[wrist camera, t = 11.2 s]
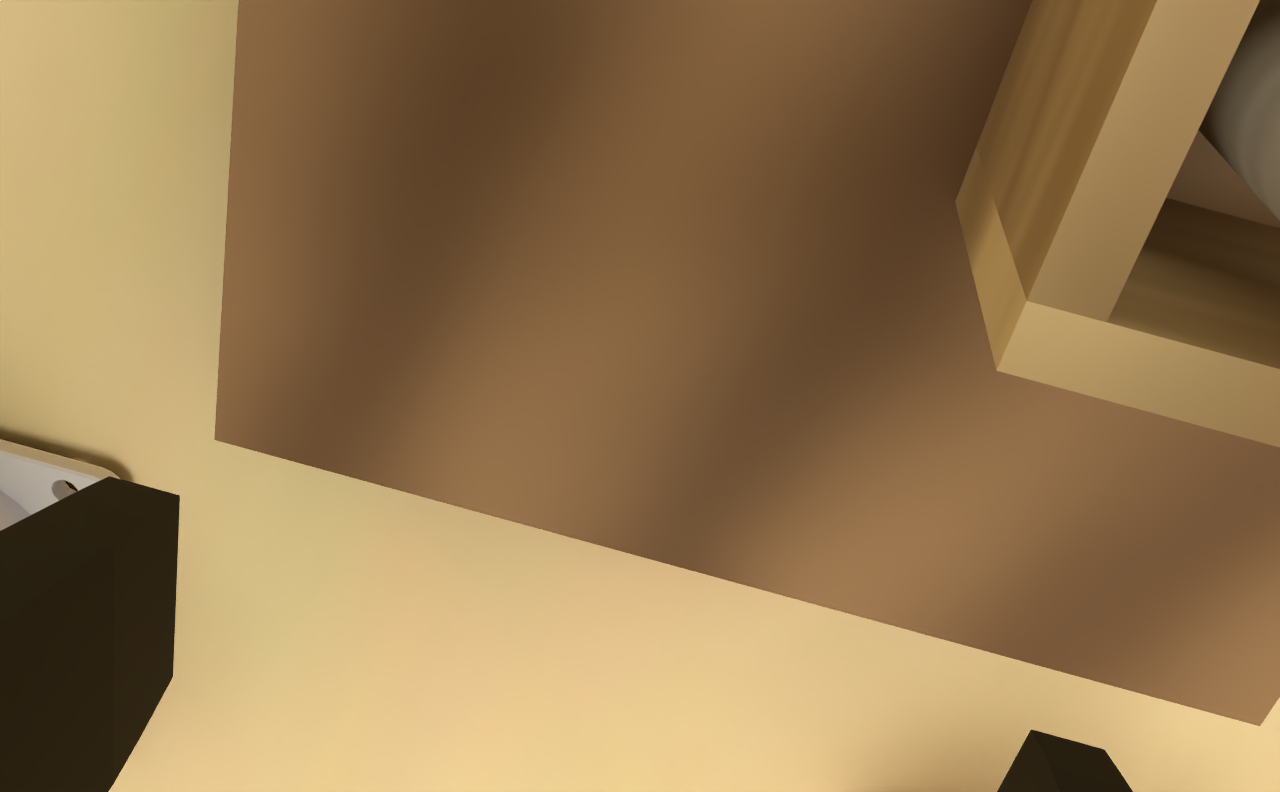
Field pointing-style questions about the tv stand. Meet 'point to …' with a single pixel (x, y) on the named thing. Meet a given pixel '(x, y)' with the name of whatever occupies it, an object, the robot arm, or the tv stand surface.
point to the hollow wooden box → (1122, 219)
